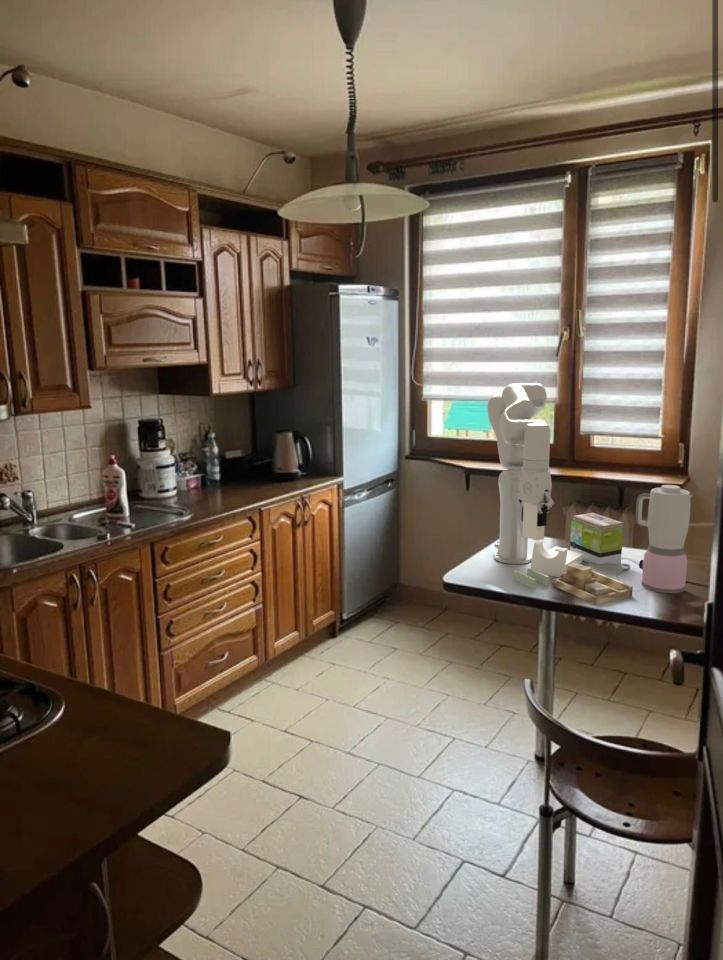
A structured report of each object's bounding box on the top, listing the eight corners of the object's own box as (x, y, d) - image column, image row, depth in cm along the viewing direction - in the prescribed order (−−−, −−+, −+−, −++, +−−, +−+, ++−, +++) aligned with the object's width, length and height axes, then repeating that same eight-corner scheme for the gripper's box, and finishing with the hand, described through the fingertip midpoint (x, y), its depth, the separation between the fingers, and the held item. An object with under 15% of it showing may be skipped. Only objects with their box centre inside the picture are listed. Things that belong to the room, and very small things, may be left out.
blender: (690, 588, 216) (699, 485, 209) (678, 600, 207) (687, 493, 200) (638, 578, 226) (644, 479, 219) (624, 588, 217) (631, 486, 210)
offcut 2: (561, 585, 217) (562, 572, 216) (573, 582, 219) (573, 570, 218) (583, 594, 209) (583, 581, 208) (594, 592, 211) (595, 579, 210)
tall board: (522, 535, 218) (524, 487, 216) (530, 534, 220) (531, 486, 217) (536, 540, 213) (538, 491, 210) (544, 539, 214) (546, 490, 211)
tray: (552, 588, 217) (552, 575, 216) (586, 581, 223) (587, 568, 222) (595, 608, 201) (596, 594, 200) (631, 600, 207) (632, 586, 207)
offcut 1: (566, 574, 214) (566, 565, 214) (574, 572, 216) (575, 562, 216) (582, 580, 209) (583, 570, 209) (591, 577, 212) (591, 567, 211)
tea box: (568, 555, 249) (570, 514, 246) (590, 552, 253) (592, 511, 250) (599, 568, 236) (601, 525, 233) (622, 564, 240) (624, 521, 237)
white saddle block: (558, 582, 224) (563, 551, 222) (529, 573, 230) (534, 543, 228) (580, 567, 238) (585, 538, 235) (553, 559, 244) (557, 530, 241)
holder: (510, 583, 222) (511, 571, 222) (530, 579, 226) (531, 567, 225) (531, 593, 214) (532, 580, 213) (552, 588, 217) (552, 576, 216)
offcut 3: (584, 595, 208) (585, 584, 207) (596, 593, 209) (596, 582, 209) (596, 601, 203) (597, 590, 203) (607, 599, 205) (608, 588, 204)
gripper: (507, 461, 218) (505, 518, 221) (545, 470, 203) (543, 531, 206) (526, 459, 221) (525, 515, 225) (565, 468, 206) (563, 528, 210)
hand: (533, 522), depth 215 cm, fingers closed on tall board, 6 cm apart
